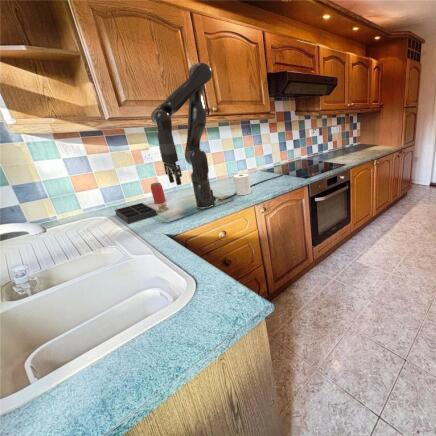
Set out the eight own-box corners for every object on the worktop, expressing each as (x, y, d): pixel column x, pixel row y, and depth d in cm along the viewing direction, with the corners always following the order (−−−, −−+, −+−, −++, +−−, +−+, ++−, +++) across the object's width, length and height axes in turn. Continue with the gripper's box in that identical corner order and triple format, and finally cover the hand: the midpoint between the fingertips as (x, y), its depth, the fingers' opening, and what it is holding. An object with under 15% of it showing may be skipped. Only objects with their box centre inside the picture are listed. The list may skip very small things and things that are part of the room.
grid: (143, 207, 157) (141, 202, 155) (157, 215, 143) (155, 210, 142) (116, 214, 147) (114, 209, 146) (128, 223, 133) (126, 218, 132)
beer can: (160, 204, 161) (155, 185, 156) (152, 203, 162) (147, 185, 158) (168, 200, 166) (163, 182, 162) (159, 200, 168) (155, 182, 164)
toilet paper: (251, 190, 179) (249, 173, 174) (250, 194, 169) (248, 176, 164) (236, 191, 178) (234, 174, 174) (234, 195, 169) (232, 177, 164)
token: (165, 208, 153) (164, 202, 152) (168, 209, 150) (167, 204, 149) (158, 210, 150) (156, 204, 149) (161, 211, 147) (159, 206, 146)
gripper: (182, 152, 129) (188, 184, 135) (169, 150, 138) (176, 180, 144) (167, 154, 124) (174, 187, 130) (155, 152, 133) (163, 183, 139)
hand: (175, 183), depth 137 cm, fingers open, 8 cm apart
